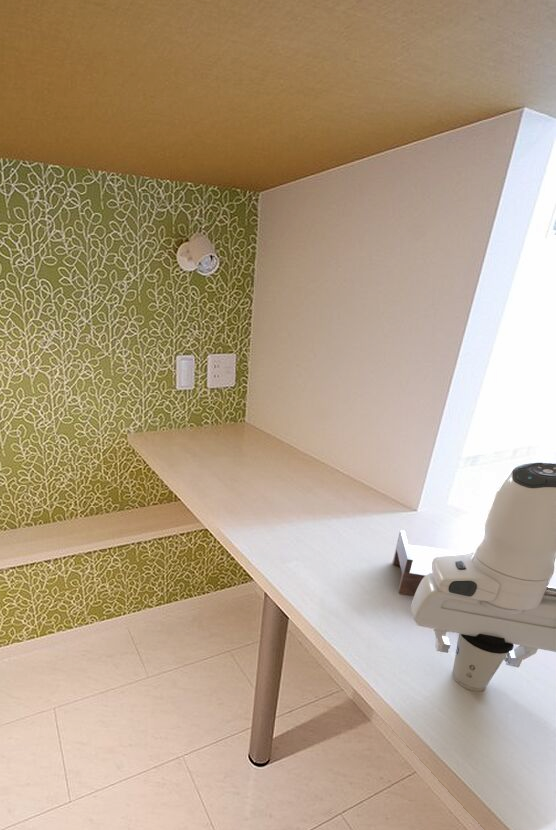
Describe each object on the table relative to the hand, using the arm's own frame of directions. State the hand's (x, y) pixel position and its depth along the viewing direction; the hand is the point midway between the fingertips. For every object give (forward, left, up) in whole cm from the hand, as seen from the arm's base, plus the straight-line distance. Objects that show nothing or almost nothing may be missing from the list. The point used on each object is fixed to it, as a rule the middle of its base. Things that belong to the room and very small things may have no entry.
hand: (475, 656), depth 65 cm
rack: (0, -26, -4) cm, 26 cm away
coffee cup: (0, 0, -5) cm, 5 cm away
